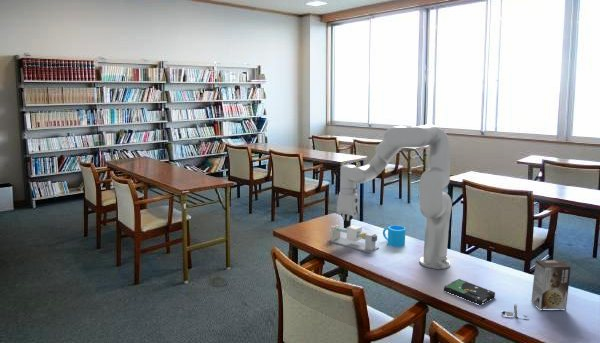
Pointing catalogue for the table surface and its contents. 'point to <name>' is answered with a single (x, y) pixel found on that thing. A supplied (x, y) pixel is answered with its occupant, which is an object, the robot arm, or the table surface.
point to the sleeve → (353, 233)
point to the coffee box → (550, 284)
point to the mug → (395, 235)
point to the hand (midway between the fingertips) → (347, 227)
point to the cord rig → (367, 247)
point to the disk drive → (469, 291)
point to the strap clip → (511, 312)
